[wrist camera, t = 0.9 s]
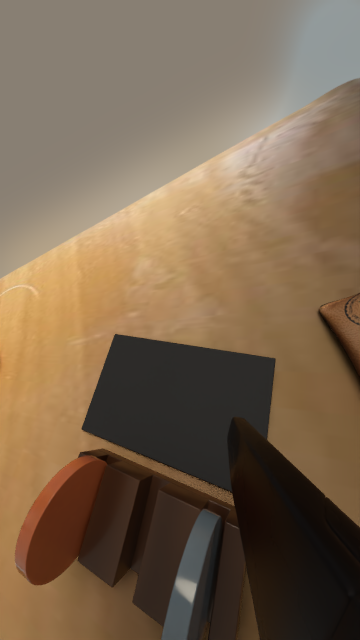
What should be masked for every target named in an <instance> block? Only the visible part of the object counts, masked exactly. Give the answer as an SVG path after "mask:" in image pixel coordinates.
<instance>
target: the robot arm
mask: <svg viewBox="0 0 360 640" xmlns="http://www.w3.org/2000/svg"><path fill="white" fill-rule="evenodd" d="M227 445H228V457H229V468H230V480H231V488H232V494H233V499H234V504H235V510H236V515H237V520H238V525H239V531H240V536H241V541H242V546H243V552H244V557H245V562H246V567H247V573H248V578H249V583H250V588H251V594H252V599H253V604H254V610H255V615H256V620H257V625H258V631H259V636H260V640H360V527H359V526H358V525H356V524H355V523H354V522H353V521H352V520H351V519H350V518H349V517H348V516H347V515H346V514H345V513H343V512H342V511H341V510H340V509H339V508H338V507H337V506H336V505H335V504H334V503H333V502H332V501H331V500H330V499H329V498H327V497H326V498H325V495H324V494H323V493H322V492H321V491H320V490H319V489H318V488H317V487H316V486H315V485H314V484H313V483H312V482H311V481H310V480H309V479H307V478H306V477H305V476H304V475H303V474H302V473H301V472H300V471H299V470H298V469H297V468H296V467H295V466H294V465H293V464H292V463H291V462H290V461H289V460H287V459H286V458H285V457H284V456H283V455H282V454H281V453H280V452H279V451H278V450H277V449H276V448H275V447H274V446H273V445H272V444H271V443H270V442H268V441H267V440H266V439H265V438H264V437H263V436H262V435H261V434H260V433H259V432H258V431H257V430H256V429H255V428H254V427H253V426H252V425H251V424H250V423H248V422H247V421H246V420H245V419H244V418H240V417H233V418H232V420H231V424H230V428H229V432H228V437H227Z"/></svg>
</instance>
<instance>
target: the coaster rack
mask: <svg viewBox="0 0 360 640" xmlns="http://www.w3.org/2000/svg"><path fill="white" fill-rule="evenodd" d="M87 455H91V456H94V457H97V458H99V459H101V460H103V461H105V462H106V463H107V464H108V465H106V468H105V472H104V475H103V478H102V482H101V485H100V488H99V491H98V495H97V498H96V501H95V505H94V508H93V511H92V514H91V518H90V521H89V524H88V528H87V531H86V534H85V537H84V541H83V544H82V547H81V551H80V554H79V557H78V562H79V563H81V564H82V565H83V566H85V567H86V568H87V569H89V570H90V571H91V572H93V573H94V574H95V575H96V576H98V577H99V578H100V579H102V580H103V581H104V582H106V583H107V584H108V585H109V586H111V587H113V586H114V585H115V584H116V583H117V582H118V581H119V580H120V579H121V578H122V577H123V576H124V575H125V574H126V572H127V571H128V570H129V569H130V568H131V569H132V570H134V571H135V572H137V573H138V574H139V576H138V580H137V584H136V589H135V593H134V597H133V601H132V603H133V604H134V605H136V606H137V607H138V608H140V609H141V610H142V611H144V612H145V613H146V614H148V615H149V616H150V617H151V618H153V619H154V620H155V621H157V622H158V623H159V624H161V625H162V626H163V627H164V623H165V618H166V614H167V609H168V605H169V601H170V597H171V593H172V590H173V586H174V582H175V579H176V575H177V572H178V568H179V565H180V562H181V559H182V555H183V552H184V549H185V546H186V544H187V541H188V538H189V535H190V533H191V530H192V528H193V526H194V523H195V521H196V519H197V517H198V516H199V514H200V512H201V511H202V510H203V509H208V510H210V511H212V512H214V513H216V514H218V515H220V516H221V517H222V541H221V550H220V557H219V564H218V571H217V577H216V583H215V589H214V594H213V600H212V605H211V610H210V615H209V620H208V622H209V623H210V629H209V636H208V640H237V638H238V632H239V624H240V615H241V607H242V598H243V589H244V580H245V572H246V562H245V557H244V552H243V546H242V541H241V536H240V531H239V525H238V520H237V515H236V510H235V506H232V505H230V504H228V503H226V502H223V501H221V500H219V499H217V498H214V497H212V496H210V495H207V494H205V493H203V492H201V491H198V490H196V489H194V488H192V487H189V486H187V485H185V484H182V483H180V482H178V481H176V480H173V479H171V478H169V477H167V476H164V475H162V474H160V473H157V472H155V471H153V470H151V469H148V468H146V467H144V466H142V465H139V464H137V463H135V462H133V461H130V460H128V459H126V458H123V457H121V456H119V455H117V454H114V453H112V452H110V451H108V450H105V449H97V450H91V451H86V452H80V454H79V457H82V456H87ZM79 457H78V458H79Z"/></svg>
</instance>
